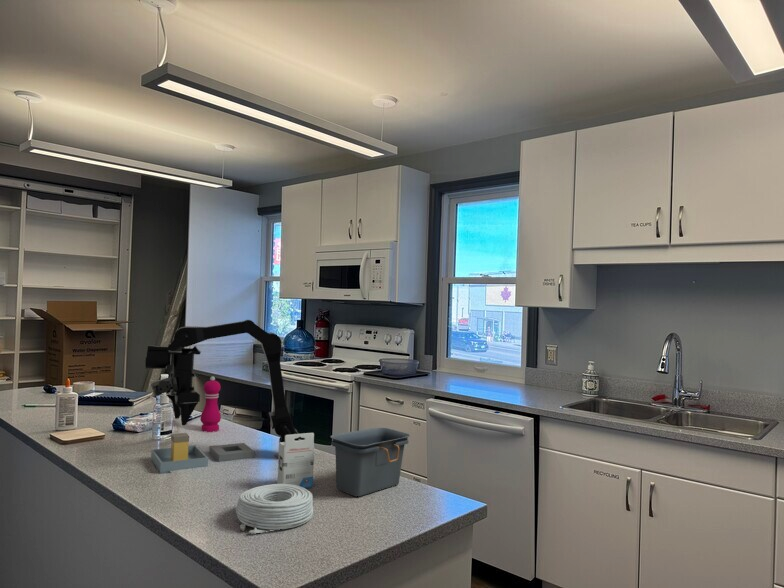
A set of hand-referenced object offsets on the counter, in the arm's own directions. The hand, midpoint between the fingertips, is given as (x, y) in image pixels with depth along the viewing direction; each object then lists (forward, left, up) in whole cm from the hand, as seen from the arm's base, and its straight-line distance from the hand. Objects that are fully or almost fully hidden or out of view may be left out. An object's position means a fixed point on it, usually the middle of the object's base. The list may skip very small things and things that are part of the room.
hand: (180, 421), depth 166 cm
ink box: (-33, -23, -13) cm, 42 cm away
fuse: (0, 0, -12) cm, 12 cm away
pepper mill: (+38, -19, -13) cm, 44 cm away
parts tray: (0, 0, -12) cm, 12 cm away
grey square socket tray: (+1, -16, -12) cm, 20 cm away
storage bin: (-43, -41, -13) cm, 61 cm away
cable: (-51, -11, -13) cm, 53 cm away
